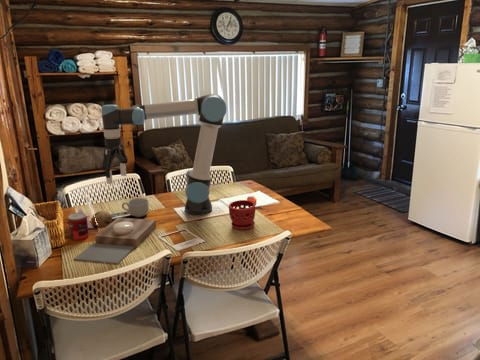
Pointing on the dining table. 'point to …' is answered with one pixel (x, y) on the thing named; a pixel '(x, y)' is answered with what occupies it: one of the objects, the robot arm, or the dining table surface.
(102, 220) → the coconut
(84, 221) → the canned food
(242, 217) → the plant pot
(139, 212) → the teacup
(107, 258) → the mat
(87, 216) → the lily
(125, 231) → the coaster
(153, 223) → the serving board
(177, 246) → the photo frame
